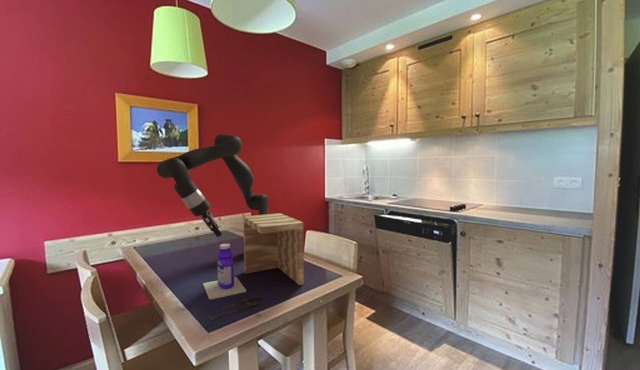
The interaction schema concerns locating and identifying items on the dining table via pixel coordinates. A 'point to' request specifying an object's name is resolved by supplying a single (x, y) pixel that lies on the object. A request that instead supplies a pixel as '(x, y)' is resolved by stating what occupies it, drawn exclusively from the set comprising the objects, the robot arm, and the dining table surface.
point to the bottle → (225, 267)
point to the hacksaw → (239, 308)
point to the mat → (217, 292)
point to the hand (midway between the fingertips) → (218, 232)
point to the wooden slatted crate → (274, 245)
